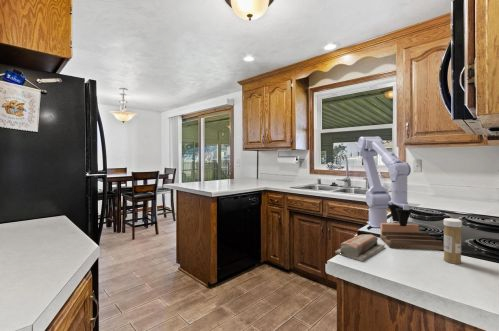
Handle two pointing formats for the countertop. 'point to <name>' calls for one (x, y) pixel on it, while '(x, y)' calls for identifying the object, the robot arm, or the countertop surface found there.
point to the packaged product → (360, 247)
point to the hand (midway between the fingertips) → (399, 223)
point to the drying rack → (411, 240)
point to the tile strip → (399, 227)
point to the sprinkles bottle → (452, 240)
